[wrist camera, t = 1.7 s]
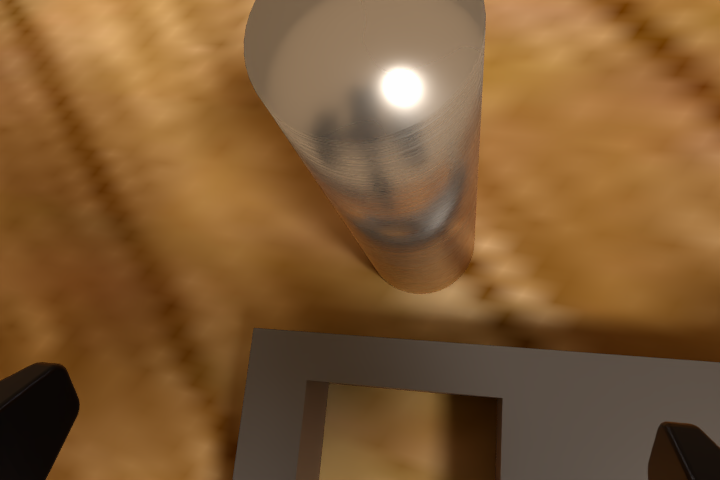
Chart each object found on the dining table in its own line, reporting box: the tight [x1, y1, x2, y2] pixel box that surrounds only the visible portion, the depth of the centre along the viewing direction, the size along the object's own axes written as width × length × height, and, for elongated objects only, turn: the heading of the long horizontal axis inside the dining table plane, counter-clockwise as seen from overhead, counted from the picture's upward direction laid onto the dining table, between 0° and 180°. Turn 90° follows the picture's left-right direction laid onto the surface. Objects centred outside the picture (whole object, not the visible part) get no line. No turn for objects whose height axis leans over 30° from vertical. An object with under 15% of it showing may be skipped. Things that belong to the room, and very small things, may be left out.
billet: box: [244, 0, 486, 294], centre depth 15 cm, size 4×4×13 cm
